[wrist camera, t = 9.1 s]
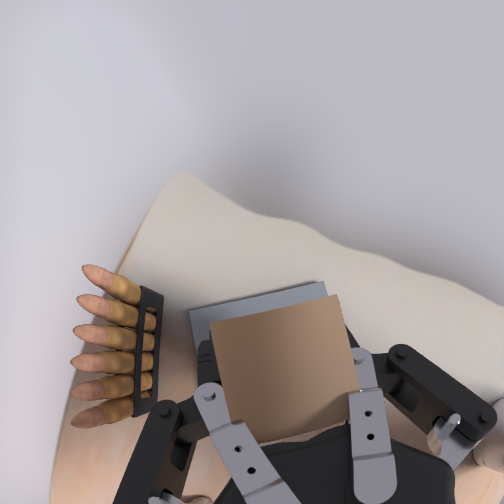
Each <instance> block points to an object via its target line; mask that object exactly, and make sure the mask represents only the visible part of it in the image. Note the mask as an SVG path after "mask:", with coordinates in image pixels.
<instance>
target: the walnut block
mask: <svg viewBox="0 0 504 504" xmlns="http://www.w3.org/2000/svg"><path fill="white" fill-rule="evenodd" d="M209 325H210V330H211V335H212V340H213V345H214V350H215V355H216V360H217V364H218V369H219V374H220V378H221V383H222V387H223V391H224V396H225V400H226V404H227V408H228V413H229V417H230V421H231V423H234V422H237V421H239V420H243V421H244V423H245V424H246V426H247V428H248V429H249V431H250V432H251V434H252V435H253V437H254V439H255V440H256V442H257V443H258V444H260V443H265V442H270V441H274V440H279V439H283V438H287V437H291V436H295V435H299V434H303V433H307V432H310V431H314V430H317V429H320V428H324V427H327V426H330V425H333V424H336V423H339V422H342V421H345V420H348V417H347V410H348V392H351V391H358V390H360V387H359V382H358V378H357V373H356V369H355V364H354V360H353V355H352V351H351V347H350V343H349V339H348V335H347V331H346V327H345V323H344V319H343V315H342V311H341V308H340V304H339V300H338V297H337V294H335V295H332V296H328V297H324V298H320V299H316V300H312V301H308V302H304V303H300V304H295V305H291V306H287V307H283V308H278V309H274V310H269V311H265V312H260V313H255V314H251V315H246V316H241V317H236V318H231V319H226V320H221V321H216V322H210V323H209Z"/></svg>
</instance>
